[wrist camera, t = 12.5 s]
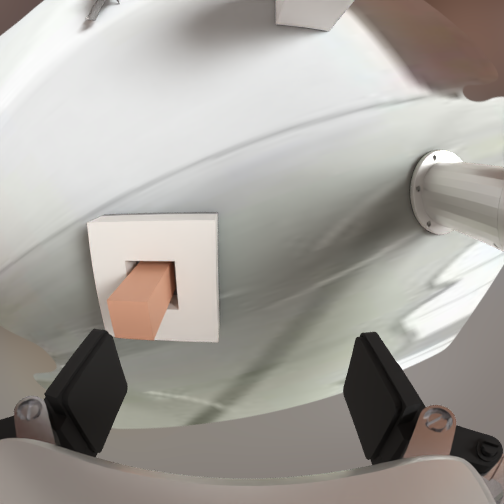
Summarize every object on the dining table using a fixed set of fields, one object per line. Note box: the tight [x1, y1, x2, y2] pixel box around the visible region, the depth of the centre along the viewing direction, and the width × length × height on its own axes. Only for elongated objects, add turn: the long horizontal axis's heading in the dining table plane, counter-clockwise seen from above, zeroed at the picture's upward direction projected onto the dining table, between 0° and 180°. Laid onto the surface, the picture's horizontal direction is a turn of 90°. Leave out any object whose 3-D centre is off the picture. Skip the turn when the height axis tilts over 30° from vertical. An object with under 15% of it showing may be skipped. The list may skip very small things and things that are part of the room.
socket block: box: [87, 212, 220, 342], centre depth 34 cm, size 15×15×5 cm
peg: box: [107, 261, 176, 340], centre depth 29 cm, size 4×4×12 cm
